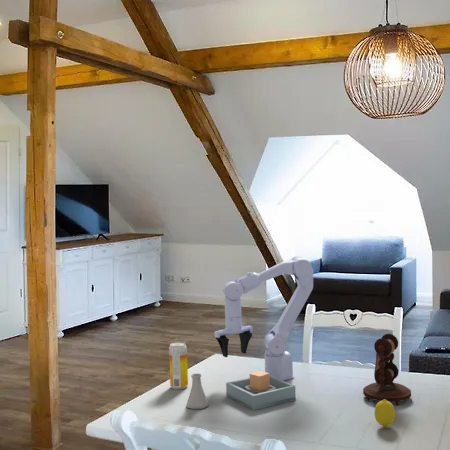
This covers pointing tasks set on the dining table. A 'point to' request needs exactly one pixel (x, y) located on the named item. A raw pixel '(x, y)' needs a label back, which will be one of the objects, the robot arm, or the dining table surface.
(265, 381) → the plug
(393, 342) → the brown tall knobby piece
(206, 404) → the flask
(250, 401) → the socket box
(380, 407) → the lemon
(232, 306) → the robot arm
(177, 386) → the beer can
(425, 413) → the dining table surface
